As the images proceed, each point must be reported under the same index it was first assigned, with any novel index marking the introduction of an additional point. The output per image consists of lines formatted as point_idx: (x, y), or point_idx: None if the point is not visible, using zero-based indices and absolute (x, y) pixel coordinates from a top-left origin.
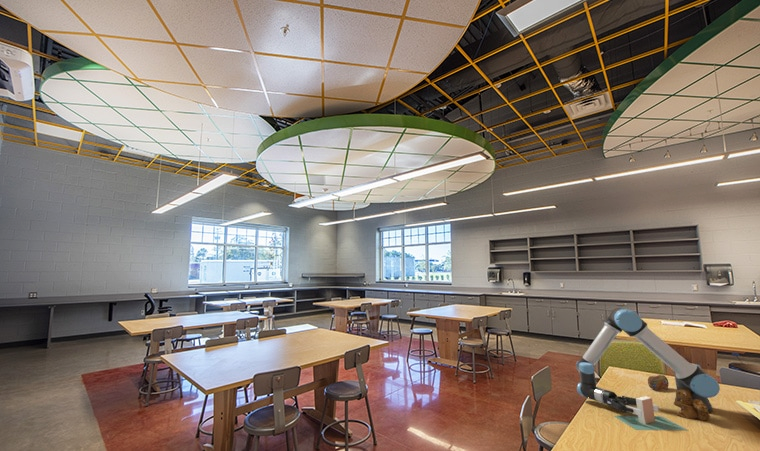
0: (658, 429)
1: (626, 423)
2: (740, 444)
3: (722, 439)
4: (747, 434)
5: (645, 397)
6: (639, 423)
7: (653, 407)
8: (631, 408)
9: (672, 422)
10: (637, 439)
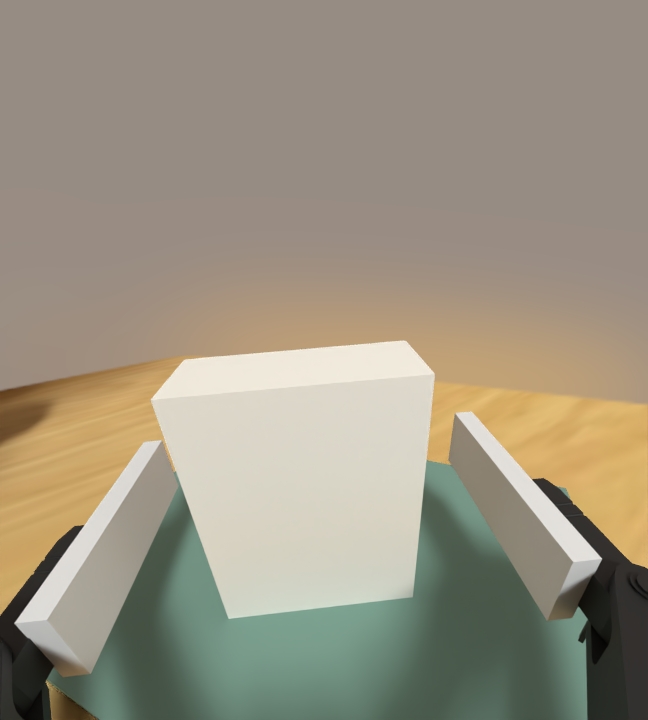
0: None
1: None
2: None
3: None
4: (85, 379)
5: (235, 373)
6: (440, 567)
7: (154, 493)
8: (530, 493)
9: None
10: (615, 429)
